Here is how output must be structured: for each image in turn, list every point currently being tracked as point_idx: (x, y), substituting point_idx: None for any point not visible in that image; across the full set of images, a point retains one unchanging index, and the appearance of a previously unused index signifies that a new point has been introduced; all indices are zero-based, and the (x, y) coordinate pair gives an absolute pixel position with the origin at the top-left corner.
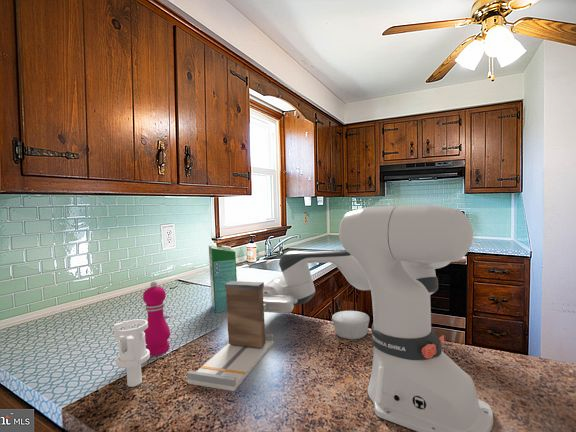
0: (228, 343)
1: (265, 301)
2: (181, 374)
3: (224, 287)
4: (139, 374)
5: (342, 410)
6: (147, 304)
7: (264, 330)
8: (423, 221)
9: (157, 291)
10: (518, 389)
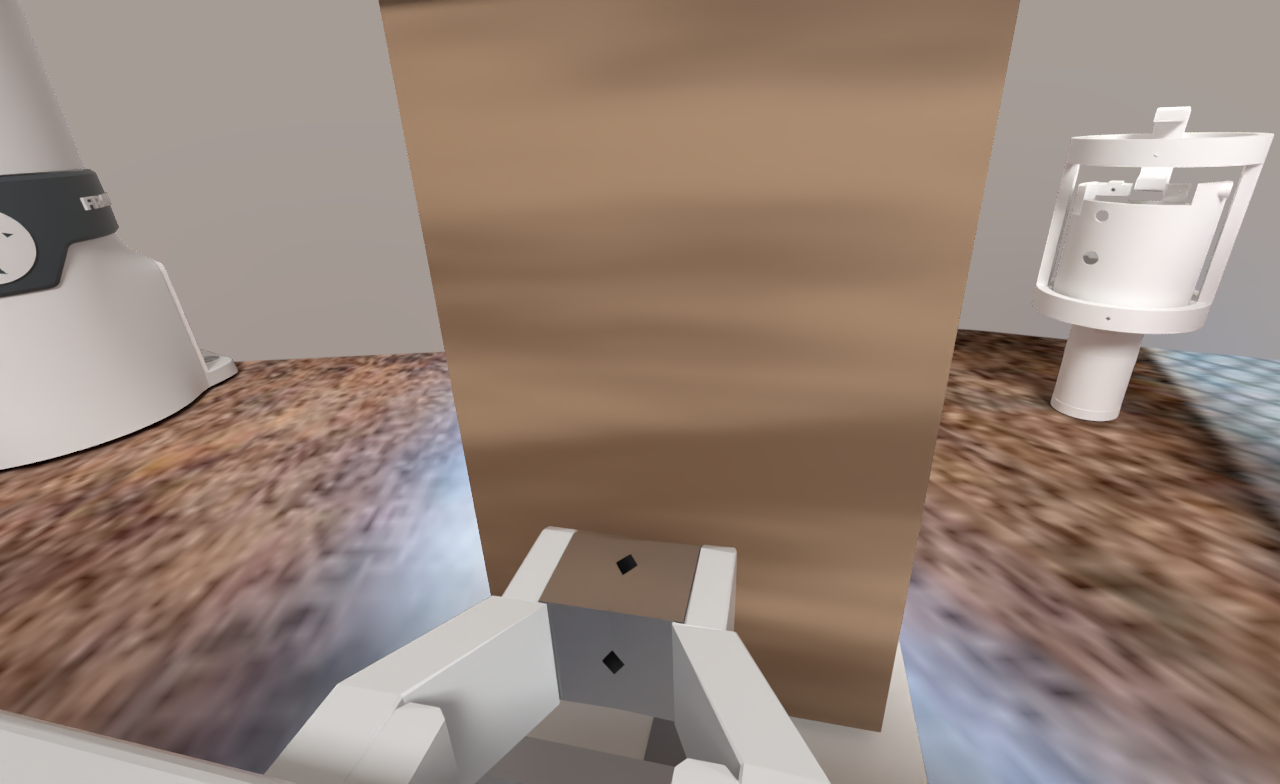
0: (903, 694)
1: (244, 780)
2: (937, 449)
3: None
4: (1062, 370)
5: (312, 379)
6: None
7: (489, 556)
8: None
9: None
10: None
